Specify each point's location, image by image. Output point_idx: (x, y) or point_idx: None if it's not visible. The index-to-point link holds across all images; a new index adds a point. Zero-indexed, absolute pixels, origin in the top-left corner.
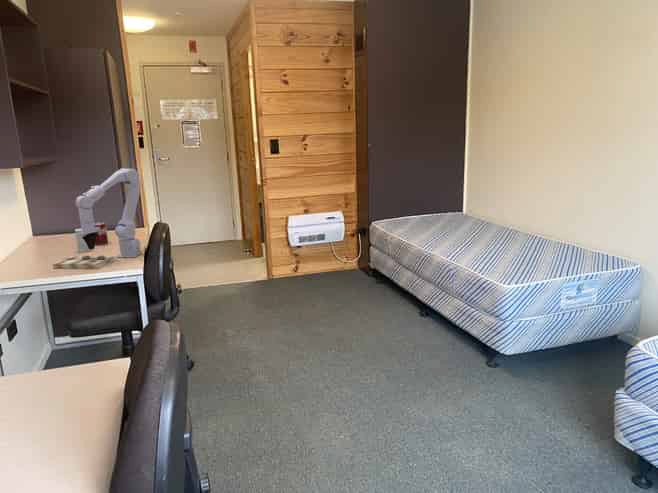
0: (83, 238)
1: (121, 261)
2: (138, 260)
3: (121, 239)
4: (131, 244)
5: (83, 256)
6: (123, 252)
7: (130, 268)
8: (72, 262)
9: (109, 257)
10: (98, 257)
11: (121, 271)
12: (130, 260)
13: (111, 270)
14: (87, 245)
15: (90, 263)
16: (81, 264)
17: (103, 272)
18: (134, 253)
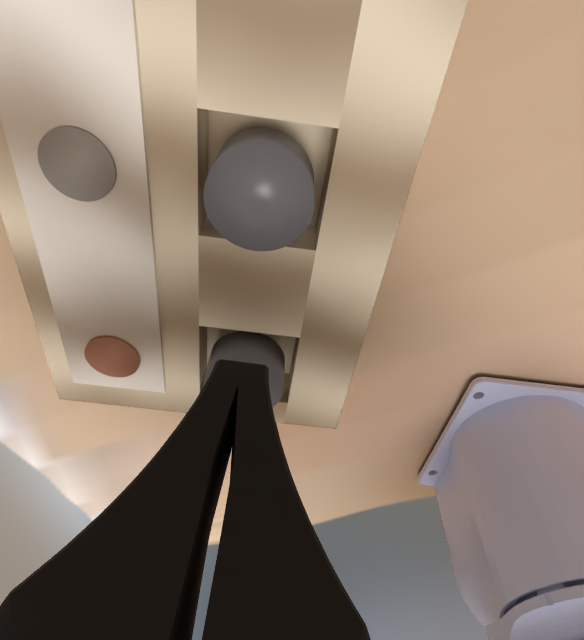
0: (51, 576)
1: (321, 436)
2: (331, 506)
3: (516, 616)
4: (468, 586)
5: (260, 164)
6: (467, 463)
7: None
8: (7, 79)
9: (304, 412)
10: (204, 380)
11: (70, 495)
12: (341, 473)
13: (74, 449)
14: (189, 411)
15: (60, 338)
16: (17, 244)
17: (13, 424)
18: (439, 506)
